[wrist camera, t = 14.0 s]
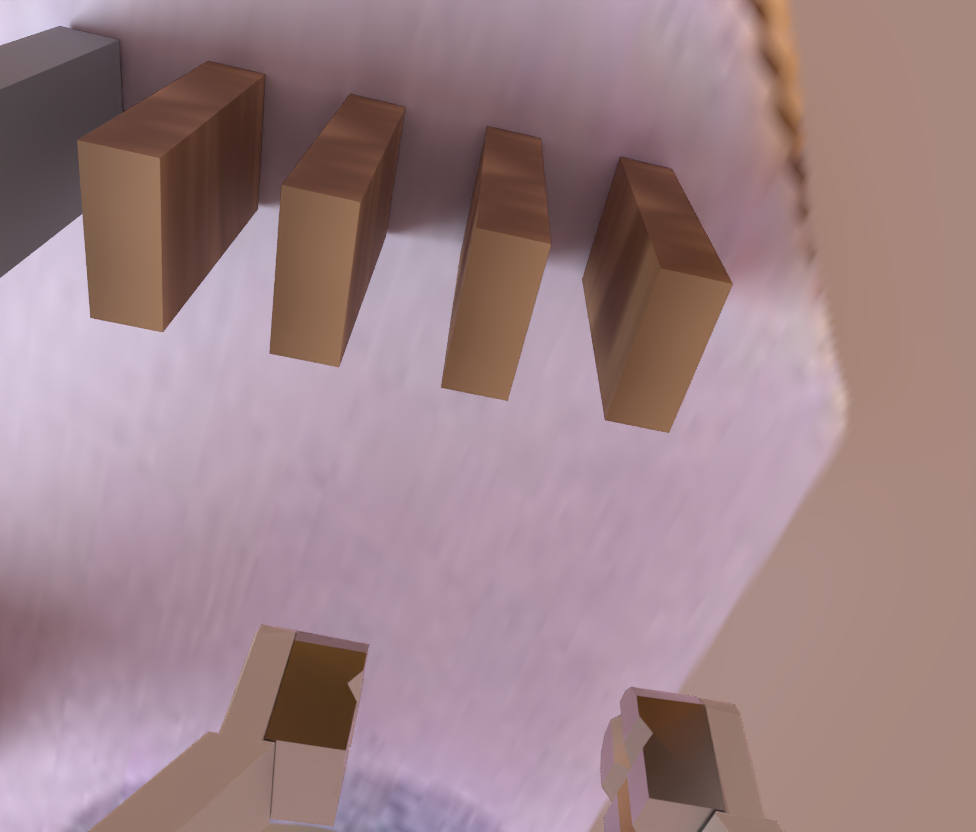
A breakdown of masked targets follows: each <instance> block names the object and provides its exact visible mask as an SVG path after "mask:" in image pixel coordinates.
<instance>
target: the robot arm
mask: <svg viewBox="0 0 976 832" xmlns="http://www.w3.org/2000/svg"><path fill="white" fill-rule="evenodd" d="M368 649H369V644H365V643H359V642H354V641H349V640H344V639H338V638H333V637H328V636H322V635H317V634H312V633H307V632H301V631H297V630H291V629H285V628H280V627H274V626H268V625H262V624H261V626H260V627H259V629H258V630H257V632H256V634H255V635H254V638H253V641H252V644H251V647H250V649H249V652H248V655H247V658H246V660H245V663H244V666H243V669H242V671H241V674H240V677H239V680H238V682H237V685H236V688H235V691H234V694H233V696H232V699H231V702H230V705H229V707H228V710H227V713H226V716H225V718H224V721H223V724H222V727H221V729H220V732H219V733H215V732H207V733H206V734H205V735H203V736H202V737H201V738H200V739H198V740H197V741H196V742H195V743H194V744H192V745H191V746H190V747H189V748H188V749H186V750H185V751H184V752H183V753H182V754H180V755H179V756H178V757H177V758H176V759H174V760H173V761H172V762H171V763H170V764H168V765H167V766H166V767H165V768H164V769H162V770H161V771H160V772H159V773H158V774H156V775H155V776H154V777H153V778H152V779H150V780H149V781H148V782H147V783H146V784H144V785H143V786H142V787H141V788H140V789H138V790H137V791H136V792H135V793H134V794H132V795H131V796H130V797H129V798H128V799H126V800H125V801H124V802H123V803H122V804H120V805H119V806H118V807H117V808H116V809H114V810H113V811H112V812H111V813H110V814H108V815H107V816H106V817H105V818H104V819H102V820H101V821H100V822H99V823H98V824H96V825H95V826H94V827H93V828H92V829H90V830H89V831H88V832H262V830H263V829H264V828H265V827H266V826H267V825H268V824H269V820H270V818H271V819H279V820H288V821H296V822H304V823H312V824H320V825H329V826H334V822H335V817H336V813H337V808H338V803H339V799H340V794H341V789H342V785H343V780H344V775H345V770H346V764H347V759H348V753H349V750H348V749H349V748H350V747H351V742H352V737H353V732H354V727H355V722H356V717H357V712H358V707H359V701H360V696H361V691H362V685H363V680H364V679H363V677H364V672H365V667H366V662H367V656H368ZM620 707H621V715H619V716H617V717H615V718H613V719H611V720H610V723H609V725H608V727H607V730H606V732H605V735H604V740H603V745H602V750H601V767H600V769H601V786H602V788H603V789H604V791H605V792H606V794H607V795H608V797H609V798H610V800H611V801H612V803H611V805H610V807H609V809H608V811H607V813H606V815H605V817H604V830H605V832H785V831H784V830H783V829H782V827H781V826H780V825H779V824H778V822H777V821H774V820H769V819H766V817H765V813H764V809H763V805H762V801H761V797H760V793H759V789H758V785H757V780H756V777H755V772H754V768H753V764H752V760H751V756H750V752H749V748H748V743H747V739H746V735H745V731H744V727H743V723H742V719H741V715H740V712H739V710H738V709H737V707H736V706H735V704H732V703H727V702H720V701H714V700H706V699H700V698H697V697H695V696H689V695H682V694H675V693H669V692H662V691H655V690H649V689H642V688H636V687H630V688H629V689H627V690H626V691H625V693H624V694H623V696H622V698H621V700H620Z"/></svg>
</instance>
